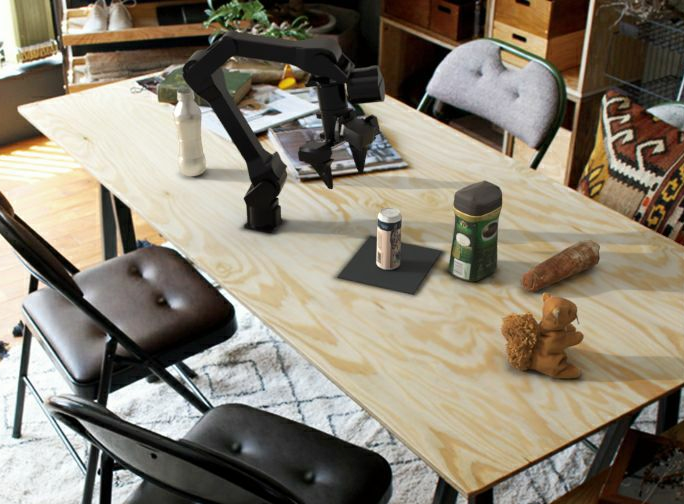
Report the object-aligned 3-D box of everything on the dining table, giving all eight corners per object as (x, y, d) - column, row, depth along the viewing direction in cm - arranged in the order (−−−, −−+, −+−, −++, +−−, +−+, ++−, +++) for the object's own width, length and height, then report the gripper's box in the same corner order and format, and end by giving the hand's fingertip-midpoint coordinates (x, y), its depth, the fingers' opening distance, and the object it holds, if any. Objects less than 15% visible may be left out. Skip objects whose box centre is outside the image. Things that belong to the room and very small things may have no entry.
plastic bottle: (212, 171, 241) (206, 89, 230) (194, 182, 237) (186, 98, 225) (191, 164, 244) (184, 82, 232) (172, 175, 240) (164, 92, 228)
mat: (337, 277, 204) (337, 276, 204) (369, 237, 218) (369, 235, 218) (413, 294, 200) (413, 293, 200) (441, 251, 214) (441, 250, 213)
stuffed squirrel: (584, 379, 179) (595, 316, 171) (504, 381, 178) (511, 318, 170) (570, 346, 187) (581, 284, 179) (494, 348, 186) (501, 286, 178)
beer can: (397, 272, 206) (400, 219, 199) (374, 270, 207) (375, 216, 199) (401, 260, 210) (404, 208, 202) (378, 258, 210) (380, 205, 203)
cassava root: (600, 269, 209) (604, 245, 206) (532, 298, 200) (536, 274, 196) (578, 256, 213) (582, 232, 210) (510, 284, 204) (513, 260, 200)
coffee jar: (473, 255, 213) (480, 173, 201) (502, 270, 208) (511, 186, 197) (441, 271, 207) (446, 187, 196) (470, 287, 203) (478, 202, 192)
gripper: (330, 125, 192) (344, 203, 200) (394, 94, 203) (405, 169, 211) (289, 119, 199) (303, 195, 207) (353, 90, 210) (364, 163, 218)
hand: (346, 180), depth 211 cm, fingers open, 9 cm apart
